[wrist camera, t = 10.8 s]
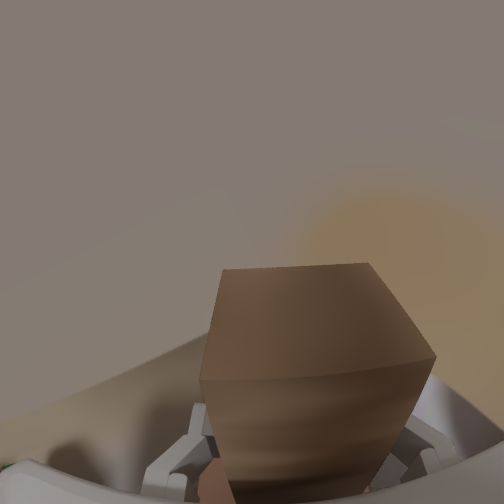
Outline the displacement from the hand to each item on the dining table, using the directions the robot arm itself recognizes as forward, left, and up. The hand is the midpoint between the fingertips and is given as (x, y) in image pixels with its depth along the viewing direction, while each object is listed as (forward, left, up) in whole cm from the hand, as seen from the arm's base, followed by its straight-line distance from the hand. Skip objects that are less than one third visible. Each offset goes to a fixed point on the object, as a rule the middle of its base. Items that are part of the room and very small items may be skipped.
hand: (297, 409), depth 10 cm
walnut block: (0, -1, -6) cm, 7 cm away
